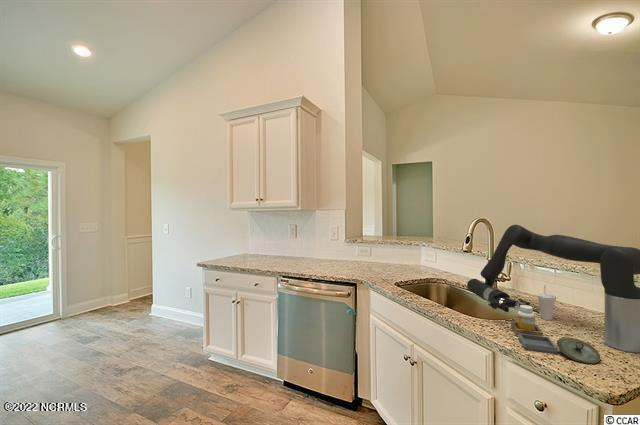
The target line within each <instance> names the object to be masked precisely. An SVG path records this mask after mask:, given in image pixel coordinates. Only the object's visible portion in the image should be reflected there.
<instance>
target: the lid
mask: <svg viewBox="0 0 640 425" xmlns="http://www.w3.org/2000/svg"><path fill="white" fill-rule="evenodd" d="M556 345H557V346H556V347H557V348H558V349H559V351H560V352H561V353H562V354H563V355H564V356H566V357H567V358H568V359H571V360H572V361H575V362H577V363H582V364H587V365H595V364H597V363H599V362H600V361H601V354H600V352H599V351H598V350H597V349H596V348H595V347H594V346H593V345H591V344H590V343H587V342H586V341H583V340H581V339H578V338H573V337H569V336H568V337H567V336H565V337H560V338H559V339H557V340H556Z"/></svg>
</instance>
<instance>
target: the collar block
mask: <svg viewBox="0 0 640 425" xmlns="http://www.w3.org/2000/svg"><path fill="white" fill-rule="evenodd" d="M510 327H511V330H512V331H513V333H514V334H515V335H516V336H519V333H521V334H529V335H536V336H544V332H543V331H542V330H541V328H540V327H539V326H538V325H537V324H536V323H535V331H531V330H522V329H518V321H510Z"/></svg>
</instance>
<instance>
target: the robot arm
mask: <svg viewBox="0 0 640 425" xmlns="http://www.w3.org/2000/svg"><path fill="white" fill-rule="evenodd" d="M512 246H516V247H517V248H519V249H524V250H530V251H531V250H532V251H537V252H541V253H543V254H547V255H549V256H552V257H556V258H560V259H564V260H568V261H573V262H582V263H594V264H599V266H600V267H599V268H600V270H599V271H600V281H601V282H600V283H601V284H602V286H603V288H604V299H603V300H604V334H603V336H604V338H603V339H604V344H606V345H607V346H609V347H611V348H613V349H616V350H620V351H622V352H628V353H640V287H639V286H637V285H636V284H635V278H634V277H635V275H636V276H637V275H640V248H637V247H631V246H620V245H619V246H618V245H612V244H605V243H604V244H602V243H598V242H595V241H591V240H586V239H583V238H578V237H573V236H570V235H568V236H567V235H563V234H551V235H543V234H539V233H536V232H533V231H531V230H529V229H527V228H525V227H524V226H521V225H519V224H512V225H510V226H509V227H507V229H506V230H505V231H504V233H503V235H502V236H501V239H500V240H499V242H498V244H497V246H496V248H495V251H494V253H493V254H492V256H491V257H490V259H489V261H488V262H487V263H486V264H485V266H484V267H483V268H482V270H481V271H480V273H479V274H480V275H481V277H482V278H483V279H485V281H484V282H482V281H481V280H479V279H478V278H471V279H469V280H468V281H467V283H466V287H467V290H468V291H469V292H470V293H472V294H474V295H476V296H478V297H479V298H482V299H483V300H484V301H486V302H487V305H488V306H489V307H491V308H492V309H493V310H497V309H498V310H501V311H504V312H505V313H509V311H510V309H515V310H520V305H528V306H531V304H530V302H529V301H526V300H524V299H521V298H517V299H514V298H511V297H510V294H508V293H507V292H505V291H503V290H501V289H499V288H496V287H494V284H495V281H496V280H497V279H498V277H499V276H500V275H501V273H502V272H503V271H504V269H505V266H506V260H507V255H508V252H509V250H510V249H511V248H512Z"/></svg>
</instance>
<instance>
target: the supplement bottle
mask: <svg viewBox="0 0 640 425" xmlns="http://www.w3.org/2000/svg"><path fill="white" fill-rule="evenodd" d="M533 310H534V309H533V307H532V306H531V305H530V306H528V305H520V309H519V310H518V312H517V322H518V329H522V330H531V331H535V324H536V315H535V313H533Z"/></svg>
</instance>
